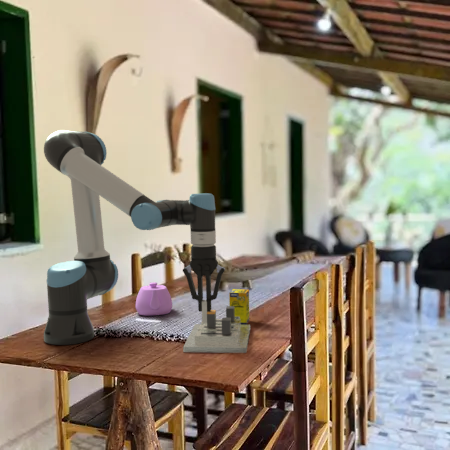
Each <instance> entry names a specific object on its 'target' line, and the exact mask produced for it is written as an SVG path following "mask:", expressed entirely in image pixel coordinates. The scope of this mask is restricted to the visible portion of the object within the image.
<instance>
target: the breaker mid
mask: <svg viewBox="0 0 450 450" xmlns="http://www.w3.org/2000/svg"><path fill="white" fill-rule="evenodd" d="M216 319H217V310H216V309H211V311H210V312H207V327H215V326H216Z"/></svg>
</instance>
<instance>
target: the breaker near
mask: <svg viewBox="0 0 450 450" xmlns="http://www.w3.org/2000/svg"><path fill="white" fill-rule="evenodd" d="M221 319H222V334H230V333H231V318H226V317H222V318H221Z"/></svg>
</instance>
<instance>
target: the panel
mask: <svg viewBox="0 0 450 450" xmlns="http://www.w3.org/2000/svg"><path fill="white" fill-rule="evenodd" d="M250 333H251V324H247V325H241V319H234V321H231V333H230V334H222V318H216V326H215V327H207V323H202V321H201V322H200V323H195V324H194V325H193V328H192V329H191V331H190V333H189V335H188V337H187V339H186V340H185V343H184V344H183V348H182V349H183V350H182V352H183V353H211V354H212V353H214V354H215V353H222V354H230V353H231V354H247V351H248V345H249V339H250Z"/></svg>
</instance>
